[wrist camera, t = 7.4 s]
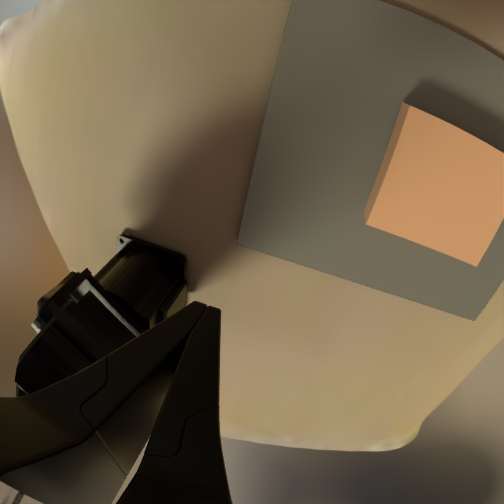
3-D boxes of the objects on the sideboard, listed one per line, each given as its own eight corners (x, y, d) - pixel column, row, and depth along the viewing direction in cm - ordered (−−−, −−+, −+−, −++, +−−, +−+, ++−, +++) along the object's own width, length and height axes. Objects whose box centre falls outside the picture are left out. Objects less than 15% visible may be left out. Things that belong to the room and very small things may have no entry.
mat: (239, 240, 23) (236, 244, 23) (298, -18, 13) (297, -21, 12) (472, 316, 21) (474, 321, 21) (572, 116, 11) (576, 118, 10)
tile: (365, 224, 17) (476, 266, 16) (409, 105, 13) (526, 167, 12) (363, 207, 19) (466, 247, 18) (401, 101, 15) (509, 156, 14)
